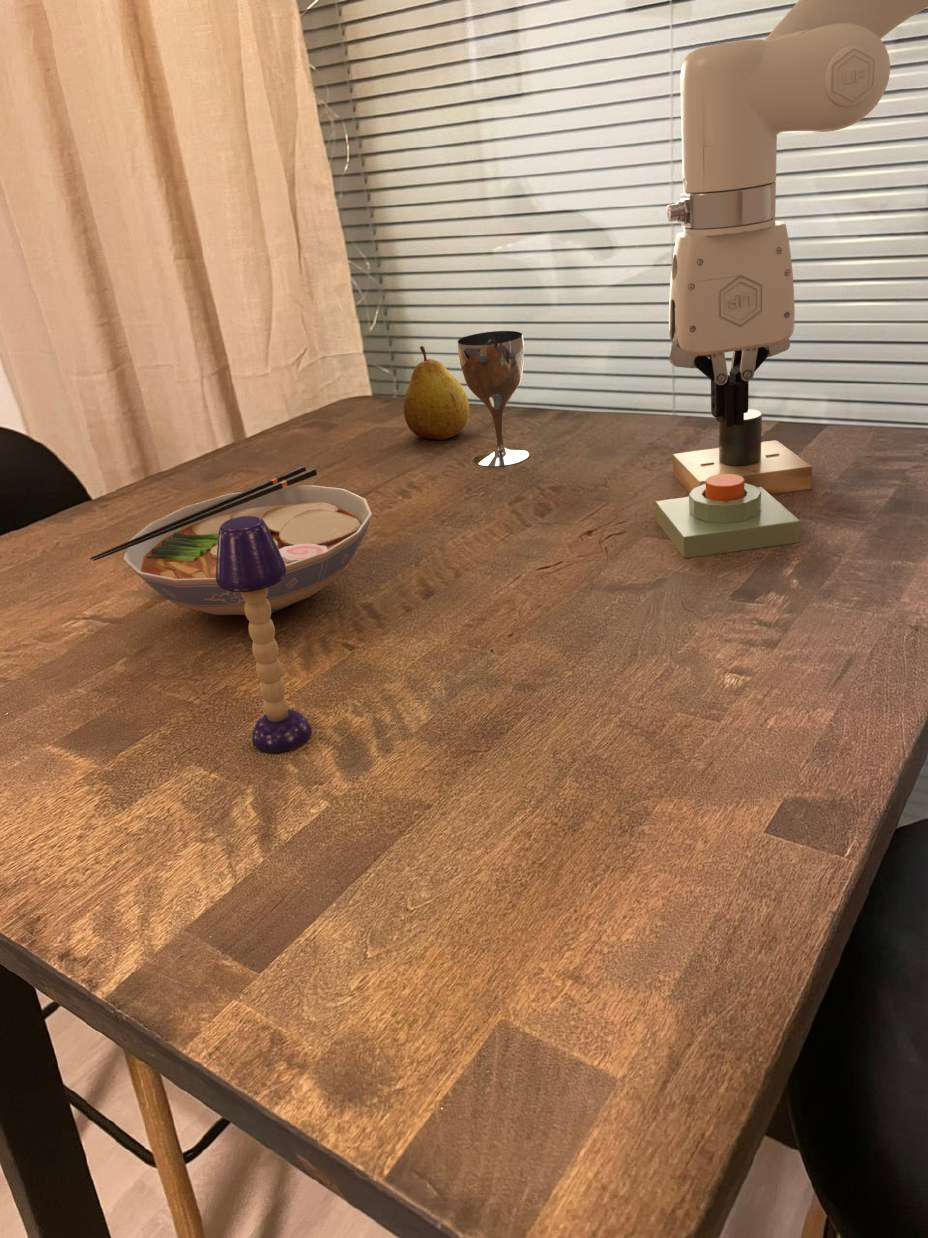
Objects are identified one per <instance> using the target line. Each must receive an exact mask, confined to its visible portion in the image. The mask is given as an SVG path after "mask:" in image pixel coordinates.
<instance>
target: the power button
mask: <svg viewBox="0 0 928 1238" xmlns="http://www.w3.org/2000/svg"><path fill="white" fill-rule="evenodd" d="M744 483H745V480H744V478H743V477H741V476H739V475H735V474H718V475H714V476H711V477H708V478H707V479H706V498H707V499H711V500H716V501H730V500H737V499H740V498H743V497H744Z"/></svg>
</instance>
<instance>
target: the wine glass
mask: <svg viewBox="0 0 928 1238" xmlns="http://www.w3.org/2000/svg"><path fill="white" fill-rule="evenodd" d="M524 344H525V343H524V335H523V333H522V332H520V331H517V330H494V331H486V332H480V333H474V334H470V335H466V336H463V337H461V338H459V339H458V340H457V352H458V358H459V359H458V360H459V364H460V369H461V372H462V374H463V375H462V376H463V378H464V381H465V383H466V385H467V387H468V389H469V390H470V391H471V393H472V394H474V396H476V397H477V398H478V399H479V400H480V401H481V402H482V403H483V404H484V405H485V406H486V408H487V409H488V411H489V412H490V415H491V418H492V421H493V424H494V429H495V430H494V431H495V435H496V437H495V438H496V448H495V449H491V450H486V451H484V452H483V451H482V452H481V453H479V454H477V455H475V456H474V458H473V463H474V464H476V465H478V466H482V467H489V468H491V467H493V468H494V467H505V466H506V467H507V466H512V465H516V464H519V463H522V462H524V461H527V459H528V458H529V457H530V453H529V452H528V451H527V450H525V449H522V448H515V447H505V444H504V439H503V437H504V435H503V416H504V411H505V408H506V406H507V404H508V402H509V401H510V399H511V398H512V396H513V395H514V393H515V392H516V391H517V389H518V388H519V386H520V384H521V381H522V379H523V373H524V362H525V361H524V360H525V345H524Z"/></svg>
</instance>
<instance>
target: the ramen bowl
mask: <svg viewBox="0 0 928 1238" xmlns="http://www.w3.org/2000/svg"><path fill="white" fill-rule="evenodd" d="M315 476H317V469H316V468H310V469H307V468H306V466H303V465H301V466H298V467H296V468H294V469H292V470H289V471H287V472H284V473H282V474H280V475H278V476H275V477H273V478H271V479H268V480H266V481H264V482H262V483H260V484H257V485H254V486H253V487H250V488H248V489H246V490H244V491H238V492H233V493H227V494H223V495H219V496H216V497H212V498H210V499H207V500H203V501H199V502H197V503H193V504H190V505H187V506H183V507H181V508H179V509H177V510H175V511H173V512H171V513H169V514H166V515H164V516H162V517H160V518H158V519H156V520H154V521H152V522H149V523H148V524H147V525H146V526H144V527H143V528H142V529H141V530H140V531H138V532H137V533H136V534H135V535H133V536H132V537H131V538H130V539H129V540H128V541H126V542H124V543H121V544H119V545H117V546H115V547H112V548H110V549H108V550H105V551H103V552H101V553H98V554H96V555H94V556H92V557H89V558H90V560H92V561H93V562H95V561H98V560H100V559H103V558H106V557H109V556H111V555H112V554H115V553H119V552H121V551H123V550H124V554H123V561H124V562H125V563H126V564H127V565H128V566H129V567H130V568H131V569H132V571H133V572H135V574H137V576H138V577H140V578H141V579H142V580H143V581H144V582H145V583H146V584H147V585H148V586H149V587H150V588H151V589H153V590H154V591H156V592H157V593H158V594H159V595H161V596H162V597H163V598H165V599H166V600H167V601H170V602H171V603H172V604H174V605H176V606H178V607H181V608H185V609H189V610H192V611H197V612H201V613H205V614H209V615H215V616H232V615H234V616H235V615H236V616H237V615H238V616H239V615H240V616H246V615H245V610H244V607H245V602H246V601H245V600H244V599H243V597H242V595H241V592H231V591H227V590H224V589H222V588H221V587H219V586H218V584H217V581H216V562H217V547H218V535H219V529H220V526H221V525H222V524H223V523H224V522H226V521H227V520H230V519H233V518H237V517H242V516H256V517H259V518H261V519H263V520H264V522H265V523H266V525H267V527H268V529H269V531H270V533H271V535H272V537H273V539H274V541H275V543H276V545H277V548H278V550H279V552H280V554H281V556H282V559H283V561H284V563H285V566H286V575H285V577H284V578H283V579H282V580H281V581H280V582H278V583H277V584H275V585H273V586H271V587H268V588H267V590H268V593H267V597H266V599H267V600H268V601H269V603H270V606H271V614H272V613H276V612H278V611H280V610H284V609H286V608H288V607H290V606H292V605H293V604H295V603H297V602H301V601H303V600H306V599H308V598H310V597H312V596H313V595H315V594H316V593H318V592H319V591H321V590H322V589H324V588H326V587H328V586H329V585H330V584H331V583H332V582H334V581H336V579H338V578H339V577H340V576H341V574H343V572H344V570H345V569H346V567H347V566H348V564H349V563H350V562H351V560H352V559H353V557H354V556H355V554H356V552H357V551H358V549H359V548H360V546H361V544H362V543H363V540H364V537H365V536H366V534H367V532H368V529H369V526H370V523H371V520H372V516H373V513H372V510H371V508H370V506H369V503H368V501H367V499H366V498H365V497H362V496H361V495H359V494H356V493H353V492H352V491H350V490H348V489H345V488H338V487H332V486H331V487H330V486H322V485H321V486H320V485H313V484H305V485H304V484H303V485H294V484H297V483H299V482H303V481H305V480H309V479H310V478H312V477H315Z"/></svg>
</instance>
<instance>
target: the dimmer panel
mask: <svg viewBox="0 0 928 1238" xmlns="http://www.w3.org/2000/svg"><path fill="white" fill-rule="evenodd" d="M718 474H735V475H739V476H741V477H743V478H744V480H745V483H746V484H750V485H753V486H755V487H762V488H763V489H765V490H766V491H767V492H768V493H769V494H770V495H775V494H783V493H790V492H797V491H804V490H811V489H812V479H813V478H812V475H813V465H811V464H810V463H808V462H807V461H806V460H805V459H803V458H802V457H800V456H798V455H797V454H796V453H795V452H793V451H792V450H791V449H789V448H788V447H786V446H785V445H784V444H782V443H781V442H780V441H778V440H777V439H774V440H767V441H761V459H760V461H758V462H757V463H754V464H750V465H743V466H733V465H727V464H723V463H721V462H720V461H719V447H716V448H707V449H699V450H693V451H685V452H679V453H673V454H672V476H673V477H675V478H676V480H677V481H678V482H680V484H681V485H682V486H683V487H684V489H686V491H687V492H688V493H689V494H690V493H691V491H692V490H693V489H694V488H696V487H698V486H701V485H703V484H706V479H707V478H708V477H711V476H714V475H718Z"/></svg>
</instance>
